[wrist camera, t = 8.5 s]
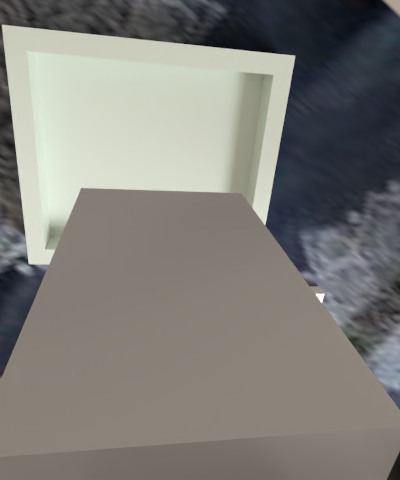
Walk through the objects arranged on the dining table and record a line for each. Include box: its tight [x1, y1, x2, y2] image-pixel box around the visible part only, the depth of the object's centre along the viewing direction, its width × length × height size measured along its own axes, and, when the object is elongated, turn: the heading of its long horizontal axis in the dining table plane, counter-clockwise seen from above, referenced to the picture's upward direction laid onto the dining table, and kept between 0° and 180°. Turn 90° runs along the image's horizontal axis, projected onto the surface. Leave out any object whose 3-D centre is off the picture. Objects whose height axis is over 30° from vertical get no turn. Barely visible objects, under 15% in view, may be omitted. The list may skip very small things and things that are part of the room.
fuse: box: [0, 188, 400, 480], centre depth 9 cm, size 5×7×8 cm, turn 175°
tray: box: [2, 25, 295, 264], centre depth 27 cm, size 17×15×3 cm
